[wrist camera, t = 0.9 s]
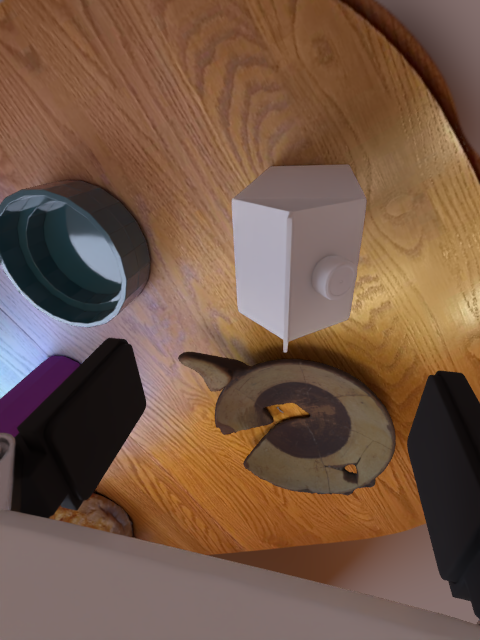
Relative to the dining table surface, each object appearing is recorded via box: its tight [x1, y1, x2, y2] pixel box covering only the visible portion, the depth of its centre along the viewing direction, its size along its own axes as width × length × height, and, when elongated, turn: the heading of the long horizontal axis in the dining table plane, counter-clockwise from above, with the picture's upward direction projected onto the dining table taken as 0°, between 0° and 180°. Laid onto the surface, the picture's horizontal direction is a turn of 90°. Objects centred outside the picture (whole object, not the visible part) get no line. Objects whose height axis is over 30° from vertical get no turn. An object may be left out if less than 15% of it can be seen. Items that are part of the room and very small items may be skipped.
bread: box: [55, 493, 137, 539], centre depth 73 cm, size 25×27×15 cm
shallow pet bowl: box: [0, 180, 150, 327], centre depth 37 cm, size 15×15×6 cm
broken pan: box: [178, 352, 395, 495], centre depth 41 cm, size 22×30×8 cm
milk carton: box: [232, 164, 367, 352], centre depth 23 cm, size 7×7×19 cm
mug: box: [0, 356, 80, 437], centre depth 48 cm, size 9×16×15 cm, turn 24°
